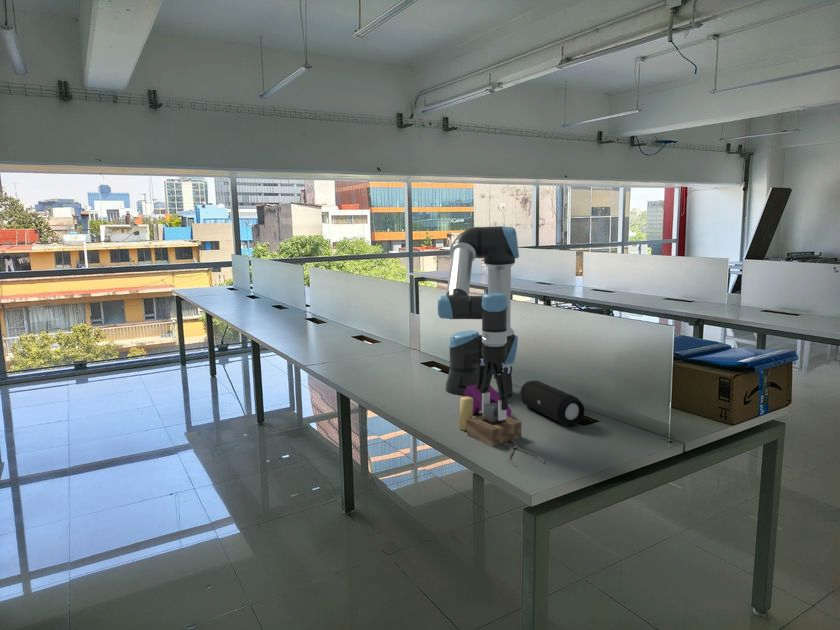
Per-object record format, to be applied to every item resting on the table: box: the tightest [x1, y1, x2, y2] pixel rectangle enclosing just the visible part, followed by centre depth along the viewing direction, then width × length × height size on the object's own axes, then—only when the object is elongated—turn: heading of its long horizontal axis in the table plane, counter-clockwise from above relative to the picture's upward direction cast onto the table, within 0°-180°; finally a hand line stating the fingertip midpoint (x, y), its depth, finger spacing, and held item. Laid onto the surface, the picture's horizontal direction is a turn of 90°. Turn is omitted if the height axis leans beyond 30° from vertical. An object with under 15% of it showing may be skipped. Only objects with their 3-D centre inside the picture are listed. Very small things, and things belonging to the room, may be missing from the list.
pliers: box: [502, 439, 546, 468], centre depth 165 cm, size 10×1×20 cm
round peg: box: [458, 396, 474, 431], centre depth 184 cm, size 4×4×10 cm
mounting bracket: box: [462, 384, 513, 418], centre depth 198 cm, size 9×8×18 cm
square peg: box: [485, 403, 504, 425], centre depth 177 cm, size 4×4×10 cm
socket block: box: [466, 414, 522, 447], centre depth 178 cm, size 12×12×5 cm
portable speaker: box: [519, 380, 585, 426], centre depth 195 cm, size 26×10×10 cm, turn 23°
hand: (493, 415), depth 177 cm, fingers open, 7 cm apart
